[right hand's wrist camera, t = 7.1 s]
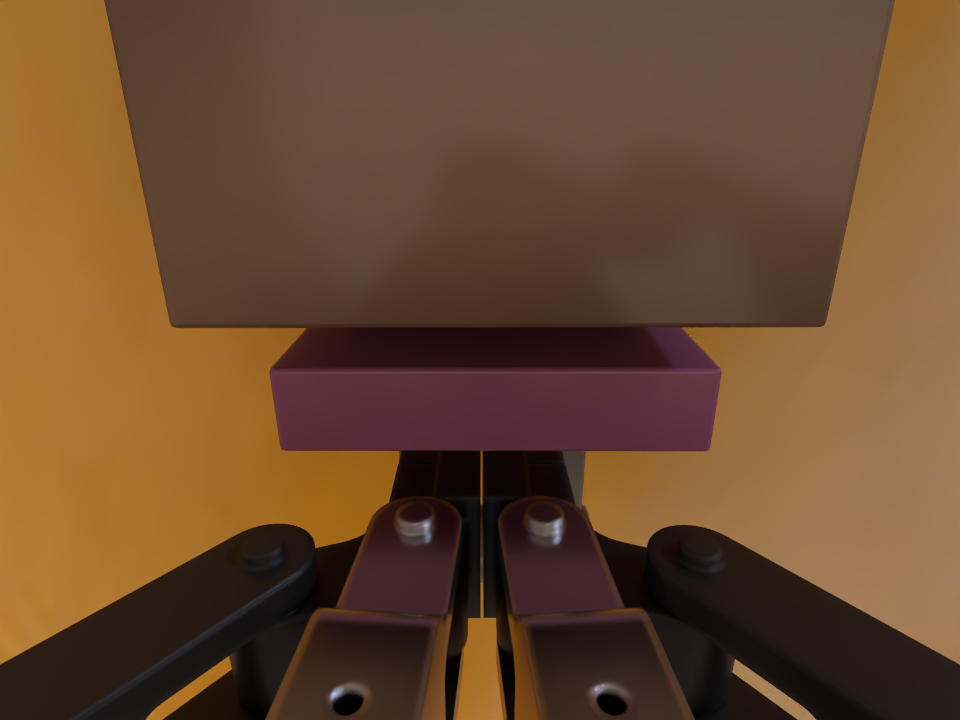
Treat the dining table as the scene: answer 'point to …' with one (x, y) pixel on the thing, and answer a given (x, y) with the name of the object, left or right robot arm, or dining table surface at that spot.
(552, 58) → the cabinet
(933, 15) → the dining table surface
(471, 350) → the drawer
